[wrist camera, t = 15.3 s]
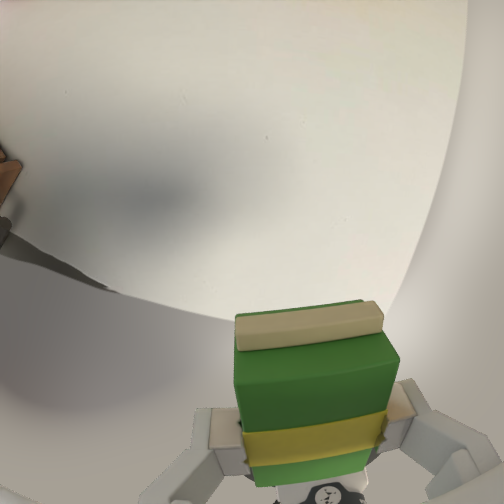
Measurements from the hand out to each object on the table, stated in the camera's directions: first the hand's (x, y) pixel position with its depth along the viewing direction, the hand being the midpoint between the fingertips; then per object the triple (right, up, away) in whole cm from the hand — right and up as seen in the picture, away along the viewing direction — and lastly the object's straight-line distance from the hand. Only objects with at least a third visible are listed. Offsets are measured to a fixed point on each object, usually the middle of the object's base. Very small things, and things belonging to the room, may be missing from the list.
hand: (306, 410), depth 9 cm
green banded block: (0, +1, +1) cm, 2 cm away
